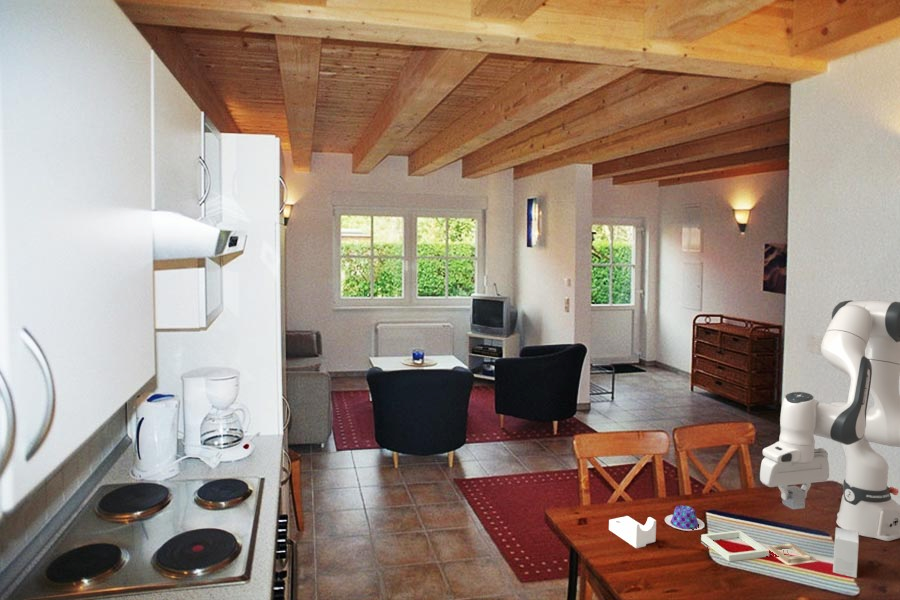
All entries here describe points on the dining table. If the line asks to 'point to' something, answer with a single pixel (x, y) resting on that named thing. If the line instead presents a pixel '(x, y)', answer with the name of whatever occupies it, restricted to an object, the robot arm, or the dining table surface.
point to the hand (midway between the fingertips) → (793, 497)
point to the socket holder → (789, 559)
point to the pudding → (684, 519)
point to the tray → (757, 553)
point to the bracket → (634, 530)
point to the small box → (846, 552)
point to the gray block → (795, 498)
